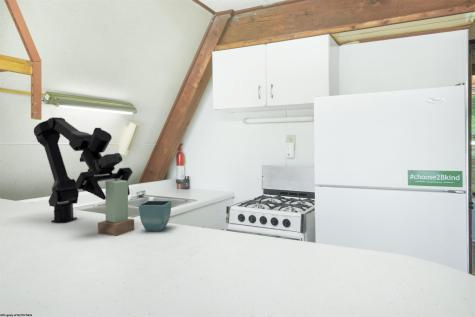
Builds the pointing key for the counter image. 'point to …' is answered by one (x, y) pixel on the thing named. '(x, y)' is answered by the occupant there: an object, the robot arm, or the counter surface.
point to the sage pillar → (116, 200)
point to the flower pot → (155, 214)
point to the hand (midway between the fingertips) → (117, 196)
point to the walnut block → (115, 227)
